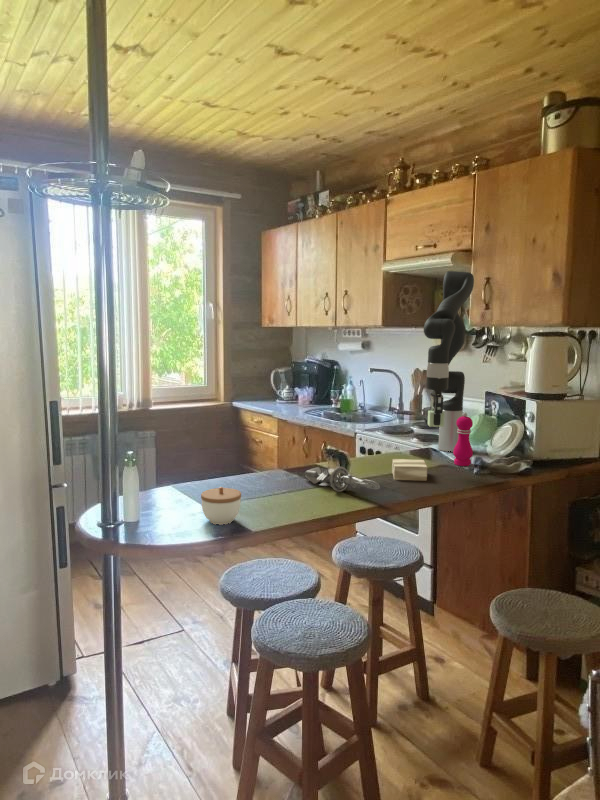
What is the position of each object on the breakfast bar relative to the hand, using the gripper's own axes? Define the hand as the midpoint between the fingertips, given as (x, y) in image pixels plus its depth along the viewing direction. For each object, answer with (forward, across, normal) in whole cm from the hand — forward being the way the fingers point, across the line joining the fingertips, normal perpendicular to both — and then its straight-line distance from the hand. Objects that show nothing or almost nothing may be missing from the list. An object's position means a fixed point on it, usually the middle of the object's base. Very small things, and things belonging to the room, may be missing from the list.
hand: (435, 423), depth 213 cm
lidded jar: (+19, +58, -65) cm, 89 cm away
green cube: (+1, 0, 0) cm, 1 cm away
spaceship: (+19, +26, -33) cm, 46 cm away
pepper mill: (+18, -15, +13) cm, 27 cm away
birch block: (+18, +5, -9) cm, 21 cm away
